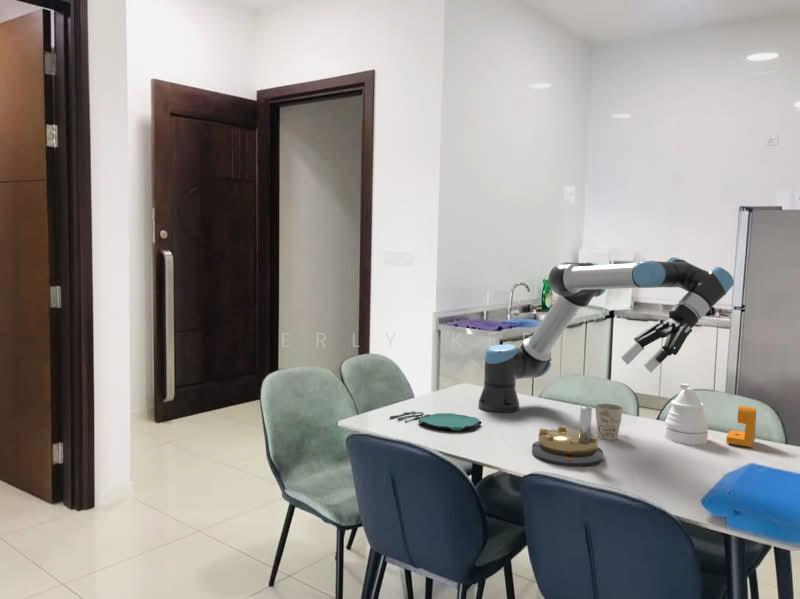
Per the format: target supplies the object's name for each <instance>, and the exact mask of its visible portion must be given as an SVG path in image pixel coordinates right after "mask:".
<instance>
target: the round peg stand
mask: <svg viewBox="0 0 800 599" xmlns="http://www.w3.org/2000/svg"><path fill="white" fill-rule="evenodd" d="M592 411H593V407H590V406H580V416H579V430H574V429H573V430H572V429H567V427H566V425H565V426H562V425H558V426H557V428H556V429H555V428H552V429H548V428H542V427H541V428H540V429H539V433H538V440H537V441H538V445H539V447H540V448H542V449H543V450H546V451H548V452H552V453H556V454H561V455H570V456H585V455H591V454H594V453H596V452H597V447H599V446H598V445H599V444H598V443H599V439H598V438H599V437H598V436H597V437H596V436H595V435H593V434H592V430H591V429H592V428H591V427H592V414H593V413H592Z"/></svg>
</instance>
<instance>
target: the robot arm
mask: <svg viewBox="0 0 800 599" xmlns="http://www.w3.org/2000/svg"><path fill="white" fill-rule="evenodd" d="M547 278H548V284H549V287H550V289H551V290H552V291H553V292H554V293H555V294H557V295H558V296H557V297H556V300H554V302H553V303H552V306H551V307H550V308H549V310H548V311H547V313H546V315H545V316H544V317H543V319H542V321H541V322H540V323H539V325H538V327H537V328H536V329H535V331H534V333H533V334H532V335H531V337H527V338H525V339H524V341H522V344H521V345H520V346H519V347H517V346H516V345H514V344H495V345H491V346H489V347H488V348H487V349H486V350H485V356H484V377H483V378H484V379H483V380H484V381H483V384H484V385H483V388H482V390H481V394H480V395H479V396H480V397H479V399H478V408H479V409H481V410H483V411H486V412H487V411H488V412H494V413H513V412H517V411H519V409H520V400H519V397H518V394H517V390H516V382H517V381H516V380H519V379H532V378H533V379H534V378H535V379H536V378H539V377H542V376H544V375H546V374H547V373H548V371H550V369H551V366H552V363H551V361H552V352H551V350H552V349H553V348H554V346H555V345H556V343H557V341H558V340H559V339H560V338H561V336H562V335H563V333H564V332H565V331H566V329H567V327H568V326H569V325H570V324H571V322H572V320H573V319H574V318H575V317H576V315H577V313H579V312H578V311H579V310H580V309H581V308H585V307H587V306H588V305H589V304H590V302H592V300H593V298H594V297H596V298H597V297H599V296H600V297H601V296H602V295H603V294H605V292H606V291H607V290H611V289H613V290H614V289H615V290H616V289H617V290H618V289H654V288H679V289H682V290H684V291H686V292H687V293H686V294H685V295H684V296H683V297H682V298H681V299H680V300H679V301H678V303H676V304H675V305H673V307H672V308H671V309H670V310H669V311H668V316H669V318H668V319H666V320H665V321H664V320H663V318H660V319H658V321H655V323H654V324H653V325H651V326H649V327H648V328H646V330H644V331H642V332H641V333H640V334H638V335H636V336H635V337H634V338H633V340H634V341H635V343H634V344H633V345H632V346H631V347H630V348H629V349H628V350H627V351H626V352H625V353H624V354H623V355H622V356H621V357H620V358H621V360H622V361H623V362H625V364H626V365H629V364H630V363H631V362H633V360H634V359H635V358H636V357H637V356H638V355H639V354H640V353H641V352H642V351H643V350H645V347H647V346H648V345H650V344H652V343H653V342H655V341H657V340H659V339H664V338H666V339H665V341H664V345H662V346H661V348H659V349H658V350H657V351H656V352H655V353H654V354H653V355H652V356H651V357H650V358H648V360H647V361H646V362H645V363H644V364H643V367H645V368H646V370H647V371H649V373H653V371H655V369H656V368H658V366H659V365H661V364H662V362H663V361H665V360H666V358H667V357H668V356H672V355H674V356H676V355H677V354H678V353H679V352H680V350H681V348H682V347H683V345H684V343H685V341H686V339H687V338H688V336H689V335H690V334H691V333H692V331H693V328H694V326H695V325H696V324H698V323H699V320H701V319H702V318H703V317H705V316H706V314H707V313H708V312H709V311H710V310H711V309H712V308H713V307H714V306H715V305H716V304H717V303H718V302H719V301H720V300H721V299H723V297H725V296H727V293H728V292H729V291H730V290H731V289H732V288H733V286H734V284H735V280H734V277H733V275H732V274H731V273H730V272H729V271H728V270H726V269H725V268H724V267H723V268H722V267H720V266H714V267H712V268H710V269H709V270H706V269H702V268H700V267H698V266H696V265H693V264H692V263H689V262H688V261H686V260H685V259H680V258H678V257H674V256H673V257H671V258H669V259H666V260H665V261H658V260H657V261H656V260H645V261H641V262H639V261H638V262H626V263H612V264H598V263H594V262H567V261H566V262H565V261H564V262H561V263H558V264H556V265H555V266H553V267H552V268H551V270H550V272H549V274H548V277H547Z"/></svg>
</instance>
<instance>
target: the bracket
mask: <svg viewBox="0 0 800 599" xmlns="http://www.w3.org/2000/svg"><path fill="white" fill-rule="evenodd" d="M737 410H738V411H737V423H738V424H744V425H745V428H744V429H745V430H744V431H742V430H733V429H731V430H729V431H728V433H727V435H726V440H725V441H726V442H725V443H726V444H728V443H731V444H730V445H734V444H737V445H736V446H740V445H743V446H742V447H746V446H749V447H748V448H753V447H754V445H753V444H755V440H756V424H757V423H756V422H757V420H756V419H757V408H756V407H751V406H744V405H739V406H738V409H737ZM752 446H753V447H752Z"/></svg>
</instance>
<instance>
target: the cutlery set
mask: <svg viewBox="0 0 800 599" xmlns="http://www.w3.org/2000/svg"><path fill="white" fill-rule="evenodd" d="M411 417H413V418H411ZM395 418H397V421H401V420H403V419H407V418H410V419H407V420H404V423H407V422H409V421H413V420H418V424H419V425H421V424H424V425H426V426H429V427H433V428H436V429H437V428H438V429H443V430H447V429H448V430H451V431H463V430H465V429H472V428H475V427H477V426H480V425H481V424H482V421H481V420H480V419H479V418H478V417H475V416H469V415H463V414H457V413H454V412H452V413H451V412H449V413H447V412H446V413H445V412H442V413H441V412H440V413H433V414H430V413H427V414H425V412H422V411H415V410H414V411H413V410H412V411H407V412H405V411H404V412H403V413H401V414H397V415H391V416H389V419H390V420H392V419H395Z"/></svg>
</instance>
